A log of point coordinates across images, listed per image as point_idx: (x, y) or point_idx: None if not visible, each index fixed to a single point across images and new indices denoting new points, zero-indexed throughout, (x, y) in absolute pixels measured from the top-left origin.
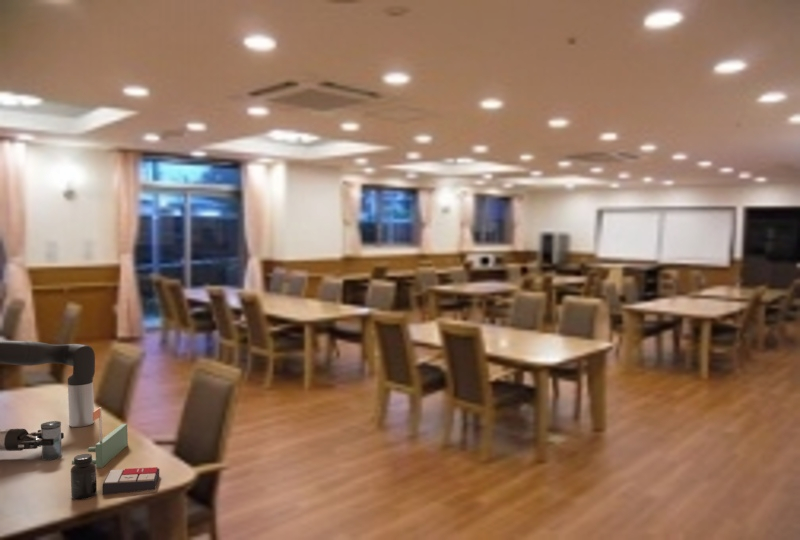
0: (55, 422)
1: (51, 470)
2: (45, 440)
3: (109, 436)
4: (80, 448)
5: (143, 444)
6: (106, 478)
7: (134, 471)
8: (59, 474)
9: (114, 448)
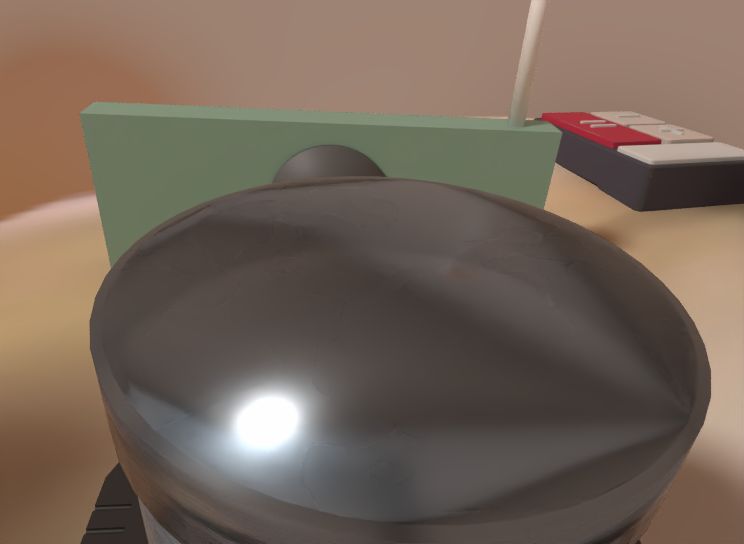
0: (274, 239)
1: (703, 489)
2: None
3: (394, 117)
4: (56, 516)
5: None
6: (727, 156)
7: (616, 129)
8: (720, 396)
9: None
